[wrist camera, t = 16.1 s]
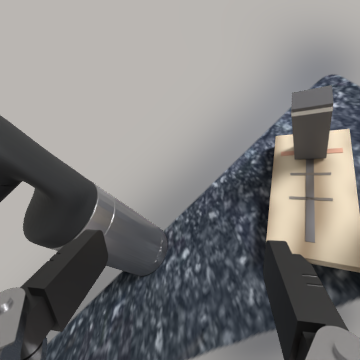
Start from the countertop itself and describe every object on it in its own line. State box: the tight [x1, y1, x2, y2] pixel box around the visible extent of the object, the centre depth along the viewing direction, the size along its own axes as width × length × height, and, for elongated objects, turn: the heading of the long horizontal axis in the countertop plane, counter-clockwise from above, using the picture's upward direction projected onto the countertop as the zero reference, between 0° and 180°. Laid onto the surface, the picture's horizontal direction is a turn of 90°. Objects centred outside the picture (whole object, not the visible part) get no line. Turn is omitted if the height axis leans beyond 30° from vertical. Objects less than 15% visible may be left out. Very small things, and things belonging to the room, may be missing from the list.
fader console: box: [266, 129, 360, 273], centre depth 30 cm, size 10×20×3 cm, turn 161°
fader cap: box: [291, 85, 333, 160], centre depth 27 cm, size 4×3×10 cm
